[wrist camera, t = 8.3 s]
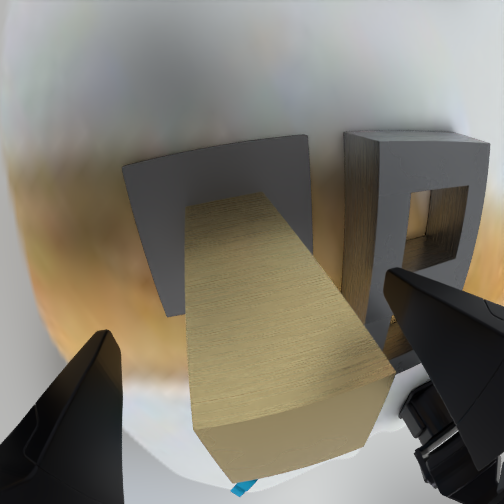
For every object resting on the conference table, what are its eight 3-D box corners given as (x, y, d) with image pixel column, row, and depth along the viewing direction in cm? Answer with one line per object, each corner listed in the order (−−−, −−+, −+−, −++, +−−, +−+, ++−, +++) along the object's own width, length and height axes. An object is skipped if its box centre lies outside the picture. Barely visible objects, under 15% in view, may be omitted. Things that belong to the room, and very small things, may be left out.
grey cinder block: (453, 132, 14) (490, 143, 11) (417, 331, 21) (437, 355, 19) (343, 131, 13) (379, 141, 10) (334, 362, 20) (349, 392, 18)
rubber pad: (304, 134, 12) (307, 135, 12) (310, 282, 16) (313, 286, 16) (123, 165, 11) (121, 168, 11) (167, 312, 15) (167, 317, 15)
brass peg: (262, 191, 13) (396, 372, 4) (269, 258, 15) (363, 446, 6) (185, 206, 12) (193, 429, 4) (201, 272, 14) (232, 483, 6)
